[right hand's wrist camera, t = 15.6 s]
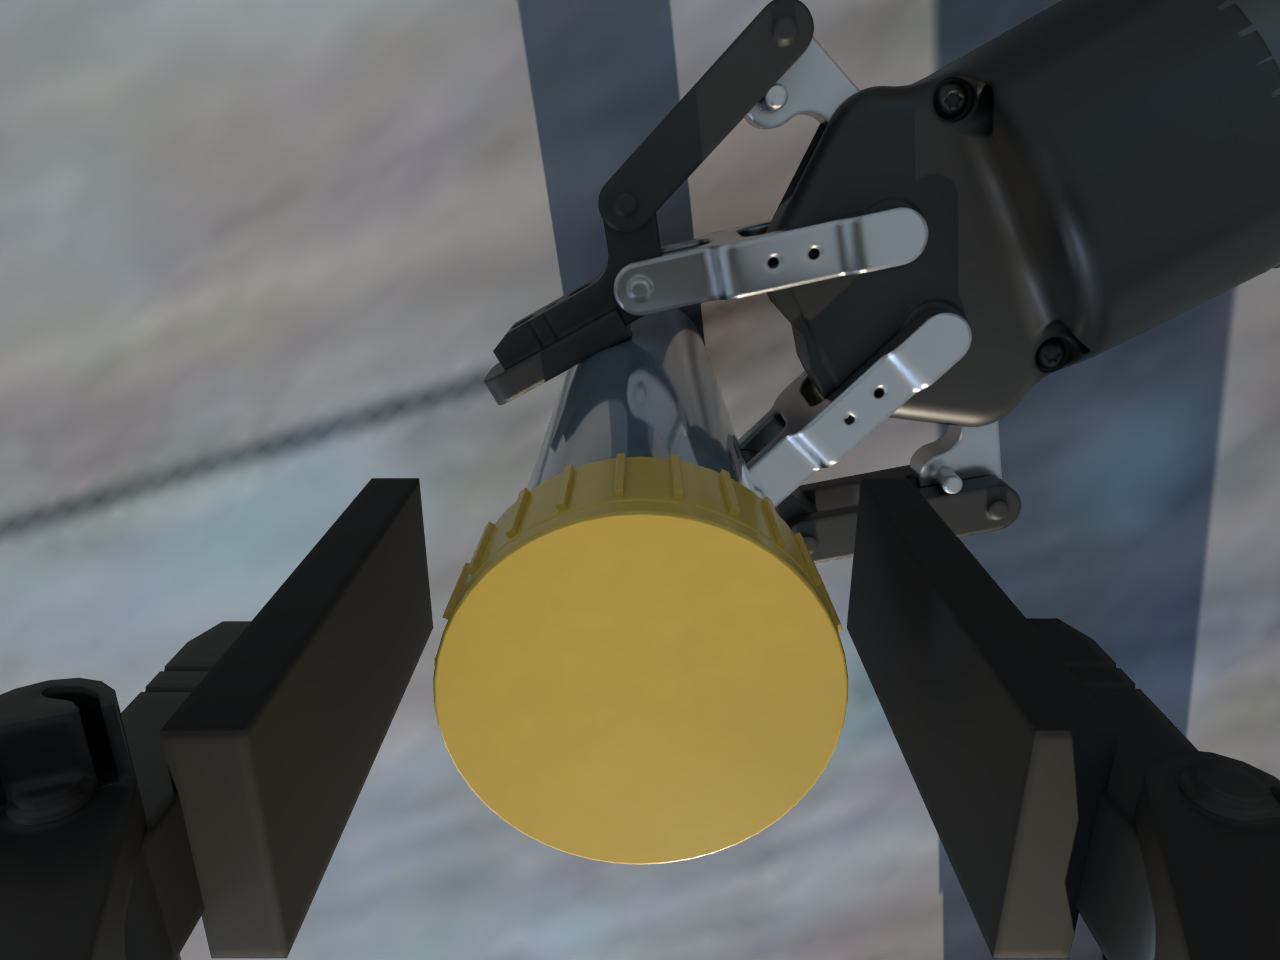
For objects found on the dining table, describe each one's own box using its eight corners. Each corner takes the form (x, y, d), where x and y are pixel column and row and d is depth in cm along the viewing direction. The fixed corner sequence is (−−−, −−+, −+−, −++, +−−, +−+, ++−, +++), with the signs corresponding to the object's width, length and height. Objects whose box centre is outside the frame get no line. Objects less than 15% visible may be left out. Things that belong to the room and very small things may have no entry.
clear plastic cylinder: (679, 276, 27) (745, 470, 10) (724, 399, 28) (848, 752, 11) (553, 325, 27) (416, 587, 11) (603, 444, 29) (552, 844, 12)
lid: (388, 652, 12) (345, 736, 11) (601, 372, 11) (594, 414, 9) (671, 825, 13) (675, 930, 12) (898, 591, 12) (944, 668, 10)
